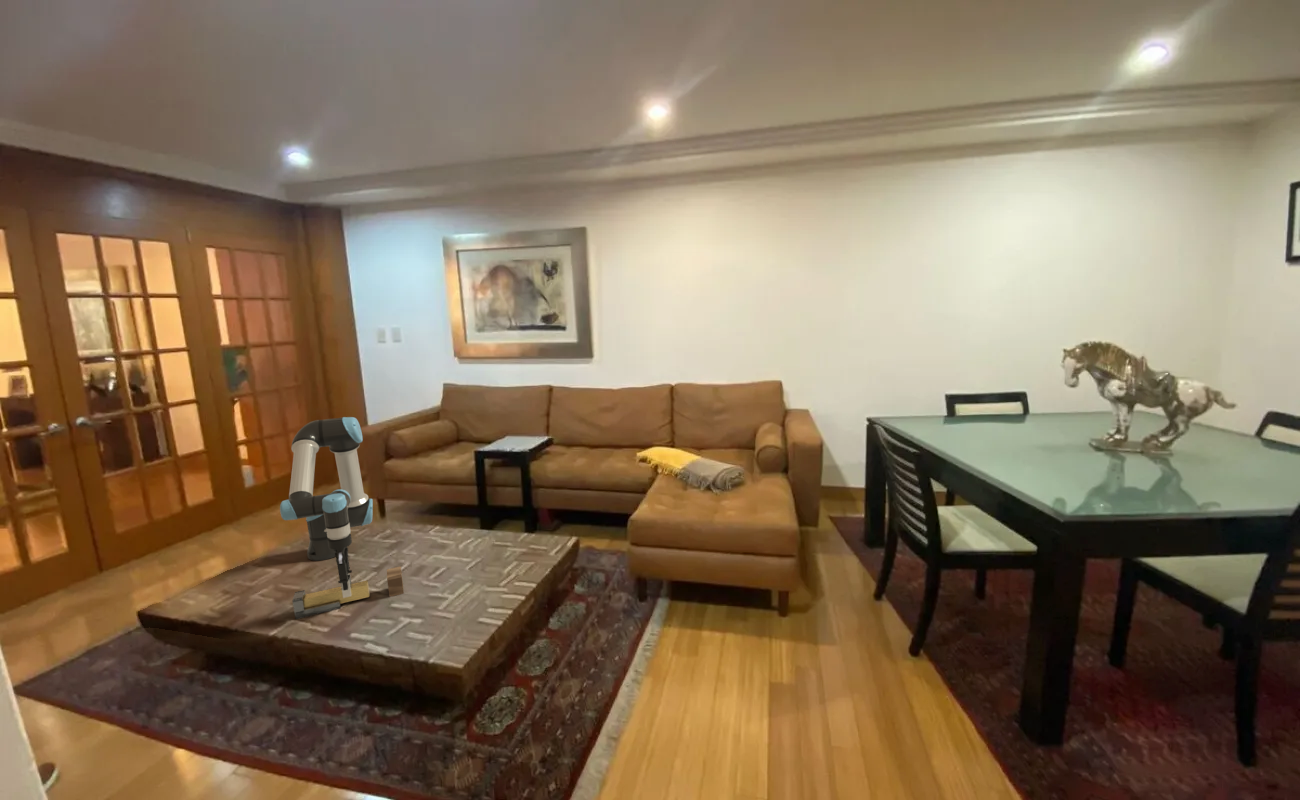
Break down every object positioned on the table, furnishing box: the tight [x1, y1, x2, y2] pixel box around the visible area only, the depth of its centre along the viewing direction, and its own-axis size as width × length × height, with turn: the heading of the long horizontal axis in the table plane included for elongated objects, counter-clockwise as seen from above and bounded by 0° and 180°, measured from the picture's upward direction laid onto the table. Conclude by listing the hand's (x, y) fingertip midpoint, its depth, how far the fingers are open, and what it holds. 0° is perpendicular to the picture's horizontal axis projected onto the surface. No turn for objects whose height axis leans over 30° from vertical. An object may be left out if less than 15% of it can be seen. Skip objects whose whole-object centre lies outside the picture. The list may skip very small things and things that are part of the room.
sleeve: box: [291, 589, 342, 620], centre depth 194 cm, size 6×14×7 cm, turn 116°
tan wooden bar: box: [303, 573, 370, 609], centre depth 196 cm, size 4×22×9 cm, turn 116°
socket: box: [386, 565, 405, 598], centre depth 205 cm, size 7×5×8 cm
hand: (347, 593), depth 198 cm, fingers closed on tan wooden bar, 4 cm apart
